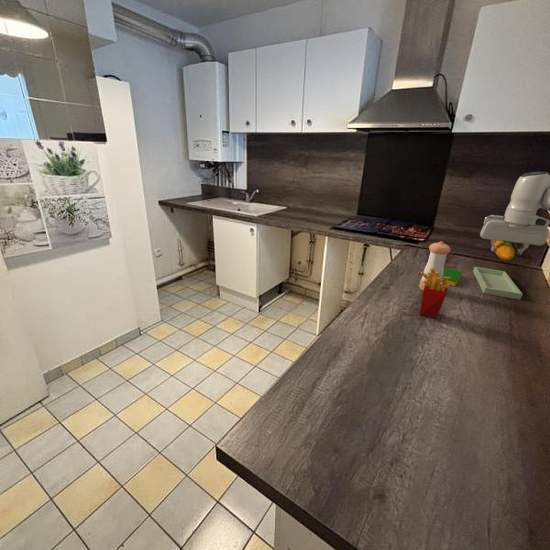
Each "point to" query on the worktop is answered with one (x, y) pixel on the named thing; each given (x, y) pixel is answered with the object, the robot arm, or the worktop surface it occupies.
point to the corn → (505, 250)
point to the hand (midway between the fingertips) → (505, 252)
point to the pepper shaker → (435, 260)
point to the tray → (496, 283)
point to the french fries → (433, 294)
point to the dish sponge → (454, 276)
